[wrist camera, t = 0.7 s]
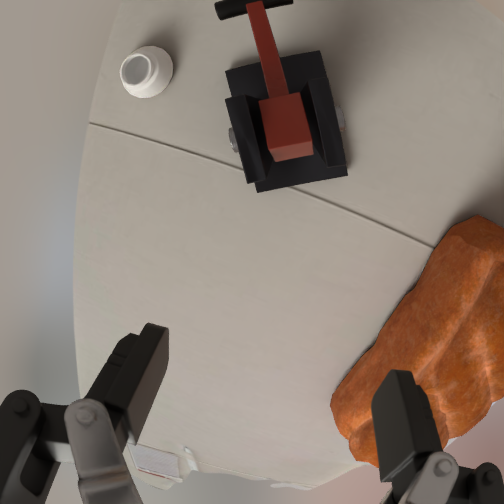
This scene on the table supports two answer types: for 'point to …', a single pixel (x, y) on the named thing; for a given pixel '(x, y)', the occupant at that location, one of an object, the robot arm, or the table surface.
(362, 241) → the table surface
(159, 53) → the white jar
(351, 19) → the table surface
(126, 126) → the table surface
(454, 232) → the bread
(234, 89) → the bracket
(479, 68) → the table surface
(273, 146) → the lever
